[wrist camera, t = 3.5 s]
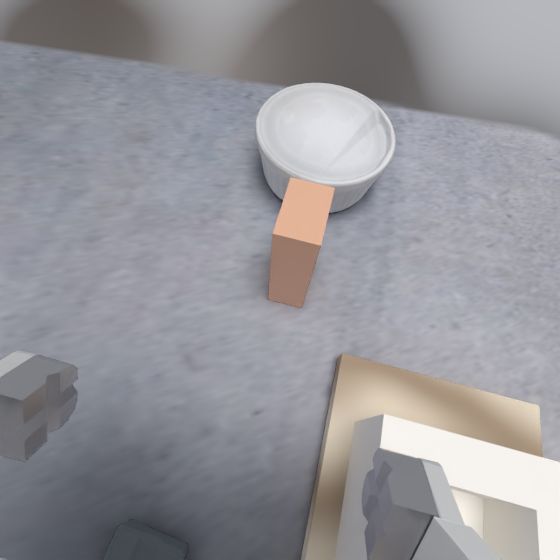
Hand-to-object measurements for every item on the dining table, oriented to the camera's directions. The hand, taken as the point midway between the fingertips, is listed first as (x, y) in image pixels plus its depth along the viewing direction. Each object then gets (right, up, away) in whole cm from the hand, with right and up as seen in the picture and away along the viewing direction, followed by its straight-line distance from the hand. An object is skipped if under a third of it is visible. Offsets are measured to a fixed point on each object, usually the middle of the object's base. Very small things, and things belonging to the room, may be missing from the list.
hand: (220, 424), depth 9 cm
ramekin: (+5, +13, +23) cm, 27 cm away
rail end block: (+2, +4, +18) cm, 18 cm away
